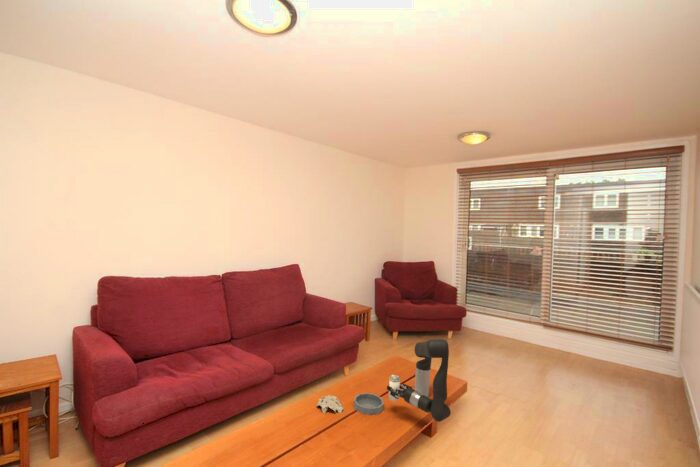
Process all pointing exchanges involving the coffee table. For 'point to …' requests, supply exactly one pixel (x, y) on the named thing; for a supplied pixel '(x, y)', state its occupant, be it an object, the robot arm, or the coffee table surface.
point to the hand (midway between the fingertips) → (391, 385)
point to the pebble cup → (394, 386)
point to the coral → (330, 403)
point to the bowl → (368, 403)
